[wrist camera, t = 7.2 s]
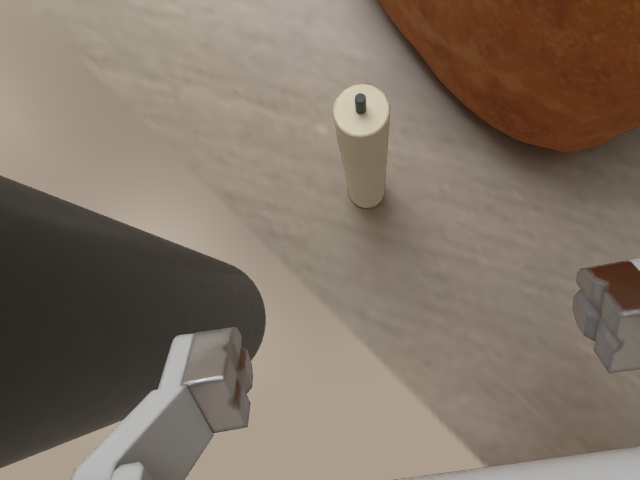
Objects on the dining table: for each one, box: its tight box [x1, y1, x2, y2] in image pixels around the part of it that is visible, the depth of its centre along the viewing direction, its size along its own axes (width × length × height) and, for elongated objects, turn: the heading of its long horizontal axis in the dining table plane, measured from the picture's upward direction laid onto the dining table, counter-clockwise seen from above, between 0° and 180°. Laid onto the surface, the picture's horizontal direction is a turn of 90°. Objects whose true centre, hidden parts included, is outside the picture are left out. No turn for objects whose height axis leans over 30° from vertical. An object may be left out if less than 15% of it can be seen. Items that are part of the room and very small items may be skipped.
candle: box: [333, 84, 390, 208], centre depth 17 cm, size 2×2×9 cm
